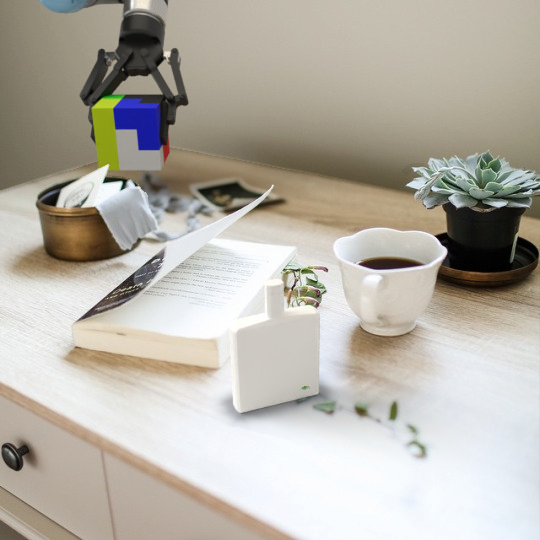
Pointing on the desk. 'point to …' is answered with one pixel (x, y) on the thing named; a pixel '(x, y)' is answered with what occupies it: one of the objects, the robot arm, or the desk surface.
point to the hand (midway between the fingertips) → (128, 141)
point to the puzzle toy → (129, 132)
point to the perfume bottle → (274, 353)
